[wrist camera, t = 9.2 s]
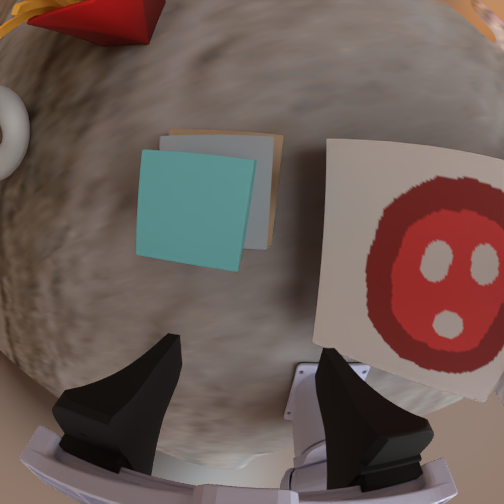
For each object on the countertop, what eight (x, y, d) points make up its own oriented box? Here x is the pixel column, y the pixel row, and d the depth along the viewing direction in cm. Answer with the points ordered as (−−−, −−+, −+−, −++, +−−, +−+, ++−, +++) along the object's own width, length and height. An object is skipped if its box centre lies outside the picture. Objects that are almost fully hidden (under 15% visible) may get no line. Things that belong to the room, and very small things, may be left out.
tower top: (266, 238, 20) (266, 249, 17) (171, 233, 20) (160, 243, 18) (272, 139, 18) (274, 136, 15) (172, 138, 18) (159, 136, 15)
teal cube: (244, 240, 17) (237, 272, 13) (168, 229, 17) (136, 254, 13) (257, 160, 16) (254, 160, 11) (176, 151, 16) (142, 149, 11)
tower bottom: (270, 237, 22) (271, 247, 20) (174, 228, 22) (164, 236, 20) (281, 138, 20) (283, 135, 17) (179, 131, 20) (169, 129, 17)
